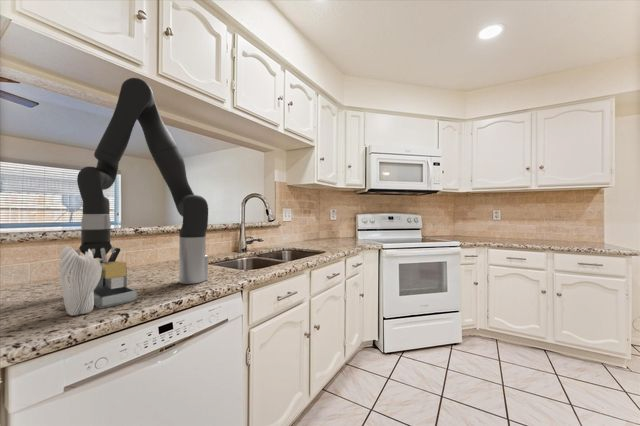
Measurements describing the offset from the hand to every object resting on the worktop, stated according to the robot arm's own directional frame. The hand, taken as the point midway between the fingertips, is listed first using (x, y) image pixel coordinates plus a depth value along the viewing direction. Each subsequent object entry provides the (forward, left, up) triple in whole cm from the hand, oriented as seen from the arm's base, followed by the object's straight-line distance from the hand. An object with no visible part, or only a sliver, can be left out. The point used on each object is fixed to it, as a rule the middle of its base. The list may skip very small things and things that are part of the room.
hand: (95, 279), depth 92 cm
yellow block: (0, +17, +3) cm, 17 cm away
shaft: (0, +9, -2) cm, 9 cm away
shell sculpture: (+9, +21, -4) cm, 23 cm away
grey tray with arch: (0, +14, -4) cm, 15 cm away
